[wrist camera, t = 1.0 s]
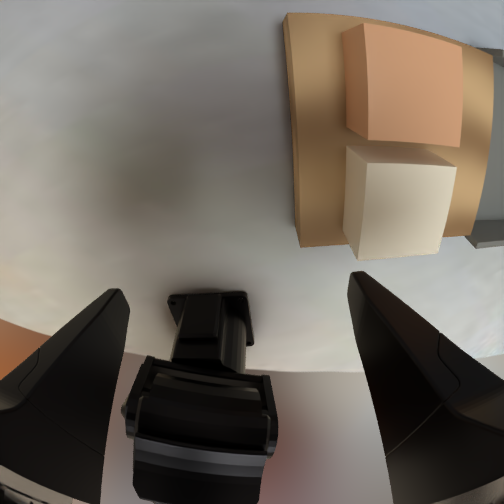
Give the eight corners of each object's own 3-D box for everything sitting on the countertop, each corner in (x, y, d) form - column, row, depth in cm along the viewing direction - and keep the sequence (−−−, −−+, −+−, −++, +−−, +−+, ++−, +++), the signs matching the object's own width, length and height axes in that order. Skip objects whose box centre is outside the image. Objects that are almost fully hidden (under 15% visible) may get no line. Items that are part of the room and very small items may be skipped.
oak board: (453, 218, 18) (470, 235, 16) (295, 226, 19) (300, 247, 17) (469, 53, 11) (492, 55, 9) (282, 22, 11) (287, 12, 9)
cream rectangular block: (415, 225, 16) (437, 253, 13) (342, 230, 16) (357, 260, 13) (426, 149, 13) (456, 167, 10) (346, 145, 13) (367, 163, 11)
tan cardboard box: (428, 132, 12) (459, 147, 10) (346, 126, 13) (368, 140, 10) (428, 47, 9) (461, 46, 7) (341, 32, 10) (363, 22, 7)
